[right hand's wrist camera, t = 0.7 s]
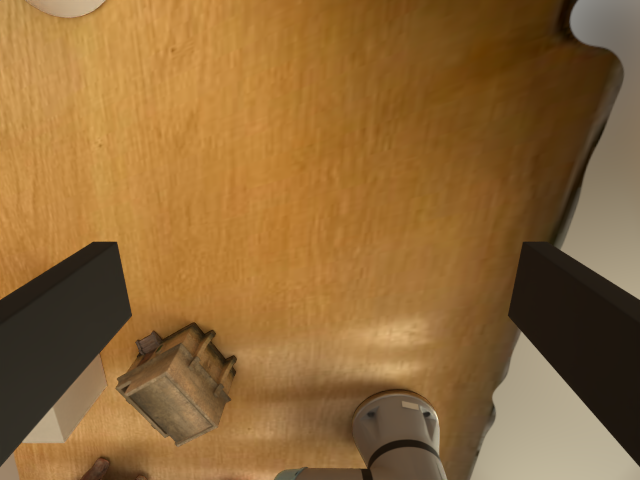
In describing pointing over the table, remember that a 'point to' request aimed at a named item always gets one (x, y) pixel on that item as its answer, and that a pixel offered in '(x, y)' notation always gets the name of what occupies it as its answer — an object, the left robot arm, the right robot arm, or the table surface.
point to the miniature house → (179, 383)
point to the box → (70, 406)
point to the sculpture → (101, 471)
